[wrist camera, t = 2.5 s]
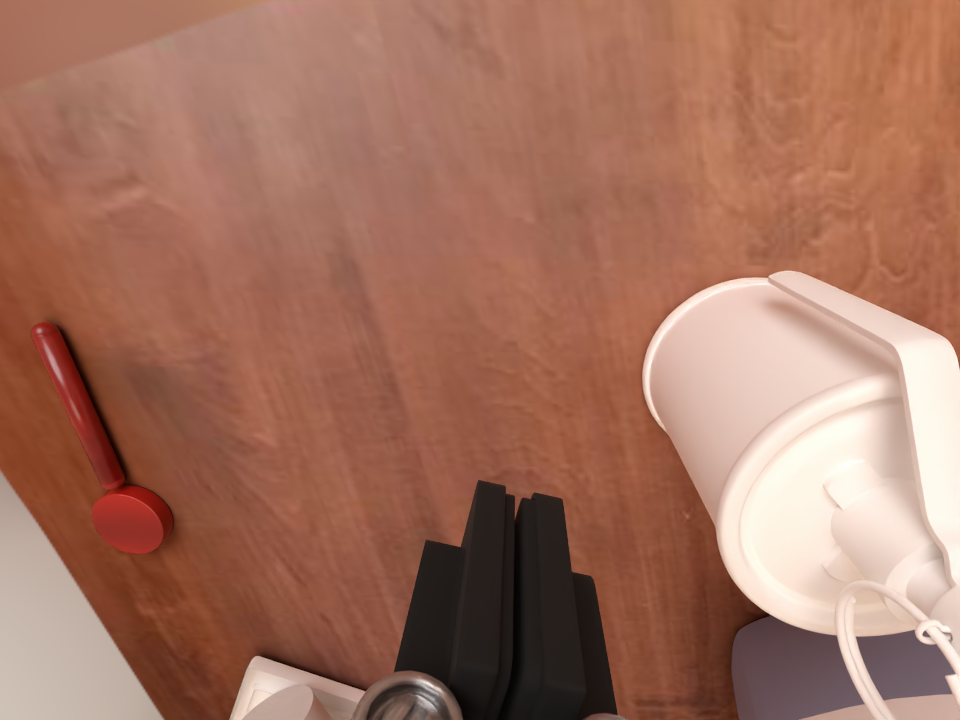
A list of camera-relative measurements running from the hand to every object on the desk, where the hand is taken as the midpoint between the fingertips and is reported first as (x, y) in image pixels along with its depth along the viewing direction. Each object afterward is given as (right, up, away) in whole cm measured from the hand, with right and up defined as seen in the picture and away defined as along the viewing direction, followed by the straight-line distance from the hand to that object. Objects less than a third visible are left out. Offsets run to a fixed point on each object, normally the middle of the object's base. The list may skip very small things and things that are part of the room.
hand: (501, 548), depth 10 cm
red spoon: (-22, -2, +20) cm, 30 cm away
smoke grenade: (+12, +4, +16) cm, 20 cm away
